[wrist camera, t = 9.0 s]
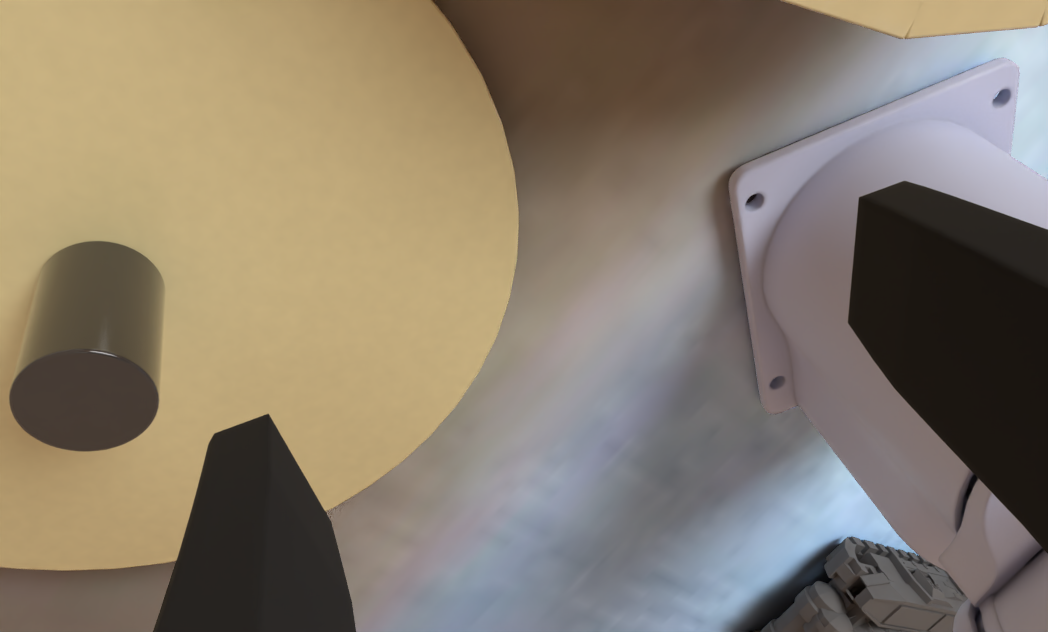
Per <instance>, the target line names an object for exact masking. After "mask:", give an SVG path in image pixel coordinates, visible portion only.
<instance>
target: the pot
mask: <svg viewBox="0 0 1048 632" xmlns="http://www.w3.org/2000/svg"><path fill="white" fill-rule="evenodd" d="M780 1H783V2H786V3H789V4H792V5H795V6H798V7H802V8H805V9H808V10H811V11H814V12H817V13H820V14H824V15H827V16H830V17H833V18H836V19H839V20H842V21H845V22H849V23H852V24H855V25H858V26H861V27H864V28H867V29H870V30H874V31H877V32H880V33H883V34H886V35H889V36H892V37H895V38H899V39H903V38H905V39H911V38H922V37H934V36H945V35H956V34H968V33H979V32H990V31H1002V30H1013V29H1025V28H1036V27H1038V26H1044V25H1047V24H1048V0H780Z"/></svg>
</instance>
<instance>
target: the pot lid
mask: <svg viewBox="0 0 1048 632" xmlns="http://www.w3.org/2000/svg"><path fill="white" fill-rule="evenodd" d="M518 232H519V208H518V199H517V189H516V180H515V171H514V166H513V162H512V158H511V155H510V151H509V147H508V143H507V139H506V135H505V131H504V128H503V124H502V121H501V119H500V116H499V114H498V112H497V109H496V107H495V104H494V102H493V100H492V97H491V95H490V93H489V90H488V88H487V85H486V83H485V81H484V78H483V76H482V74H481V72H480V71H479V69H478V67H477V66H476V64H475V62H474V61H473V59H472V57H471V56H470V54H469V52H468V51H467V49H466V47H465V46H464V44H463V42H462V41H461V39H460V37H459V36H458V34H457V32H456V31H455V29H454V27H453V26H452V24H451V23H450V21H449V20H448V18H447V17H446V16H445V15H444V13H443V12H442V11H441V10H440V8H439V7H438V6H437V5H436V3H435V2H434V1H433V0H0V567H3V568H12V569H33V570H60V571H72V570H98V569H119V568H127V567H136V566H145V565H153V564H162V563H168V562H173V561H176V560H177V557H178V554H179V551H180V547H181V544H182V541H183V537H184V534H185V530H186V527H187V523H188V520H189V517H190V513H191V509H192V506H193V502H194V498H195V495H196V491H197V487H198V483H199V479H200V476H201V472H202V468H203V464H204V460H205V456H206V452H207V448H208V444H209V442H210V440H211V438H212V437H213V435H214V433H217V432H220V431H222V430H225V429H228V428H230V427H233V426H236V425H239V424H241V423H244V422H247V421H250V420H252V419H255V418H258V417H260V416H263V415H266V414H269V415H270V417H271V418H272V420H273V422H274V424H275V425H276V427H277V429H278V431H279V432H280V434H281V436H282V438H283V439H284V441H285V443H286V444H287V446H288V448H289V450H290V451H291V453H292V455H293V457H294V458H295V460H296V462H297V464H298V465H299V467H300V469H301V470H302V472H303V474H304V476H305V477H306V479H307V481H308V483H309V484H310V486H311V488H312V490H313V491H314V493H315V495H316V496H317V498H318V500H319V502H320V503H321V505H322V507H323V509H324V510H325V512H326V511H328V510H330V509H332V508H334V507H336V506H337V505H339V504H341V503H342V502H344V501H346V500H347V499H349V498H351V497H352V496H354V495H356V494H357V493H359V492H361V491H362V490H364V489H366V488H367V487H369V486H370V485H372V484H373V483H374V482H376V481H377V480H378V479H380V478H381V477H382V476H384V475H385V474H386V473H388V472H389V471H391V470H392V469H393V468H395V467H396V466H397V465H399V464H400V463H401V462H402V461H404V460H405V459H406V458H407V457H408V456H409V455H410V454H411V453H412V452H413V451H414V450H415V449H417V448H418V447H419V446H420V445H421V444H422V443H423V442H424V441H425V440H426V439H427V438H428V437H430V436H431V435H432V433H433V432H434V431H435V430H436V429H437V428H438V426H439V425H440V424H441V423H442V422H443V421H444V420H445V418H446V417H447V416H448V415H449V414H450V413H451V411H452V410H453V409H454V408H455V407H456V406H457V404H458V403H459V401H460V400H461V398H462V397H463V395H464V394H465V392H466V391H467V389H468V388H469V386H470V385H471V384H472V382H473V381H474V379H475V378H476V376H477V375H478V373H479V371H480V369H481V367H482V365H483V363H484V361H485V359H486V357H487V355H488V353H489V351H490V349H491V347H492V345H493V343H494V341H495V339H496V337H497V335H498V332H499V329H500V326H501V323H502V320H503V317H504V314H505V311H506V308H507V305H508V302H509V299H510V294H511V289H512V284H513V278H514V273H515V268H516V263H517V256H518Z"/></svg>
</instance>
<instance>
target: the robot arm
mask: <svg viewBox="0 0 1048 632" xmlns="http://www.w3.org/2000/svg"><path fill="white" fill-rule="evenodd" d="M1019 76H1020V71H1019V67H1018V65H1017V64H1016V63H1014V62H1013V61H1011V60H1009V59H1006V58H997V59H994V60H992V61H989V62H987V63H985V64H982V65H980V66H977V67H975V68H973V69H970V70H968V71H965V72H963V73H961V74H958V75H956V76H954V77H951V78H949V79H946V80H944V81H942V82H939V83H937V84H934V85H932V86H930V87H927V88H925V89H922V90H920V91H918V92H915V93H913V94H910V95H908V96H906V97H903V98H901V99H899V100H896V101H894V102H891V103H889V104H887V105H884V106H882V107H879V108H877V109H875V110H872V111H870V112H867V113H865V114H863V115H860V116H858V117H855V118H853V119H851V120H848V121H846V122H844V123H841V124H839V125H836V126H834V127H832V128H829V129H827V130H824V131H822V132H820V133H817V134H815V135H812V136H810V137H808V138H805V139H803V140H800V141H798V142H796V143H793V144H791V145H788V146H786V147H784V148H781V149H779V150H777V151H774V152H772V153H769V154H767V155H765V156H762V157H760V158H757V159H755V160H753V161H750V162H748V163H745V164H743V165H742V166H740V167H739V168H737V169H736V170H735V171H734V173H733V174H732V175H731V178H730V180H729V194H730V201H731V207H732V214H733V221H734V228H735V234H736V241H737V248H738V254H739V261H740V268H741V274H742V281H743V288H744V294H745V301H746V308H747V315H748V321H749V328H750V335H751V341H752V348H753V355H754V361H755V368H756V375H757V381H758V388H759V395H760V401H761V404H762V406H763V407H764V409H765V410H766V412H768V413H770V414H778V413H782V412H784V411H786V410H789V409H791V408H793V407H796V406H799V407H800V408H801V410H802V411H803V412H804V414H805V415H806V416H807V417H808V419H809V420H810V421H811V423H812V424H813V425H814V426H815V428H816V429H817V430H818V432H819V433H820V434H821V436H822V437H823V438H824V439H825V441H826V442H827V443H828V445H829V446H830V447H831V449H832V450H833V451H834V452H835V454H836V455H837V456H838V458H839V459H840V460H841V462H842V463H843V464H844V465H845V467H846V468H847V469H848V471H849V472H850V473H851V474H852V476H853V477H854V478H855V480H856V481H857V482H858V484H859V485H860V486H861V487H862V489H863V490H864V491H865V493H866V494H867V495H868V497H869V498H870V499H871V500H872V502H873V503H874V504H875V506H876V507H877V508H878V510H879V511H880V512H881V513H882V515H883V516H884V517H885V519H886V520H887V521H888V522H889V524H890V525H891V526H892V528H893V529H894V530H895V532H896V533H897V534H898V535H899V536H900V537H901V539H902V540H903V541H904V542H905V543H906V544H907V545H908V546H909V547H910V548H911V549H913V550H914V551H915V552H916V553H917V554H919V555H920V556H921V557H923V558H924V559H926V560H927V561H929V562H930V563H932V564H933V565H935V566H937V567H939V568H941V569H943V570H945V571H947V573H948V574H949V575H950V576H951V578H952V579H953V580H954V582H955V583H956V584H957V585H958V587H959V588H960V589H961V590H962V592H963V593H964V594H965V595H966V597H967V598H968V599H967V600H966V601H965V602H964V603H963V604H962V605H961V606H960V608H959V610H958V612H957V614H956V615H955V617H954V624H953V632H1048V180H1047V179H1046V178H1044V177H1043V176H1041V175H1040V174H1038V173H1037V172H1035V171H1034V170H1032V169H1030V168H1029V167H1027V166H1026V165H1024V164H1023V163H1021V162H1020V161H1018V160H1017V159H1015V158H1013V157H1012V156H1011V149H1012V140H1013V131H1014V122H1015V112H1016V103H1017V94H1018V85H1019ZM998 92H999V94H998V95H997V97H996V98H995V99H994V97H995V96H996V94H997V93H998ZM756 193H757V194H756ZM753 194H756V197H755V198H754V200H752V201H751V202H749V203H746V201H747V200H748V198H749V197H750V196H752V195H753ZM774 378H775V379H774ZM153 632H356V628H355V621H354V614H353V608H352V602H351V597H350V593H349V589H348V585H347V581H346V577H345V573H344V569H343V565H342V562H341V558H340V554H339V550H338V546H337V543H336V539H335V535H334V531H333V527H332V524H331V521H330V519H329V517H328V516H327V514H326V512H325V510H324V509H323V507H322V505H321V503H320V502H319V500H318V498H317V496H316V495H315V493H314V491H313V490H312V488H311V486H310V484H309V483H308V481H307V479H306V477H305V476H304V474H303V472H302V470H301V469H300V467H299V465H298V464H297V462H296V460H295V458H294V457H293V455H292V453H291V451H290V450H289V448H288V446H287V444H286V443H285V441H284V439H283V438H282V436H281V434H280V432H279V431H278V429H277V427H276V425H275V424H274V422H273V420H272V418H271V417H270V415H269V414H266V415H263V416H260V417H258V418H255V419H252V420H250V421H247V422H244V423H241V424H239V425H236V426H233V427H230V428H228V429H225V430H222V431H220V432H217V433H214V435H213V437H212V438H211V440H210V442H209V444H208V448H207V452H206V456H205V460H204V464H203V468H202V472H201V476H200V479H199V483H198V487H197V491H196V495H195V498H194V502H193V506H192V509H191V513H190V517H189V520H188V523H187V527H186V530H185V534H184V537H183V541H182V544H181V547H180V551H179V554H178V557H177V560H176V563H175V567H174V570H173V573H172V576H171V579H170V582H169V585H168V588H167V591H166V594H165V597H164V600H163V604H162V607H161V610H160V613H159V616H158V619H157V622H156V625H155V628H154V630H153Z"/></svg>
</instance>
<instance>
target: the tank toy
mask: <svg viewBox="0 0 1048 632" xmlns="http://www.w3.org/2000/svg"><path fill="white" fill-rule="evenodd" d="M825 559H826V560H827V563H826V564H825V565H824V568H825V570H826V573H827V575H828V577H829V578H832V580H831V581H830V582H829V583H828V584H827V583H825V582H822V581H816V582H815V583H814V584H813V585H812V586H806V587H805V588H804V589H803V590H802V591H801V592H800V593H799V594H798V595H797V596H796V598H795V602H794V603H793V604H792V605H791V606H790V607H789V608H788V609H787V610H786V611H785V612H784V613H783V614H782V615H781V616H780V617H779V618H778V619H772V620H771V621H770V622H769V623H768V624H767V625H766V626H765V627H764V628H763V629H762V630H761V631H760V630H755V631H754V632H953V624H954V617H955V615H956V614H957V612H958V610H959V608H960V606H961V605H962V604H963V603H964V602H965V601H966V600H967V599H968V598H967V597H966V595H965V594H964V593H963V592H962V590H961V589H960V588H959V587H958V585H957V584H956V583H955V582H954V580H953V579H952V578H951V576H950V575H949V574H948V573H947V571H945V570H943V569H941V568H939V567H937V566H935V565H933V564H932V563H930V562H929V561H927V560H926V559H924V558H923V557H921V556H920V555H919V556H916V555H915V554H914V553H910V552H908V553H907V554H906V552H905V551H903V550H899V549H898V550H897V551H896V550H895V549H894V548H892V547H888V546H887V547H886V548H885V547H884V546H883V545H881V544H876V545H875V544H874V543H873V542H870V541H866V540H864V541H863V542H861V540H860V539H858V538H855V537H851V538H850V539H849V538H848V537H847V538H846V539H845V540H844V541H843V542H842V543H841V544H840V545H839V546H838V547H837V548H835V549H834V550H833V551H832V552H831V553H830V554H829V555H828V556H827V557H826V558H825ZM750 632H752V631H750Z"/></svg>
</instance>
